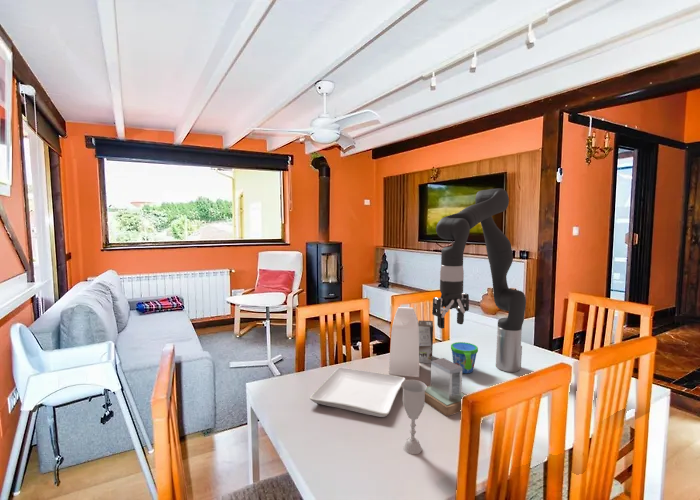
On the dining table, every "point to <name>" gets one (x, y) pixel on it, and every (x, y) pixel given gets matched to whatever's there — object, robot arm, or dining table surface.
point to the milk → (404, 343)
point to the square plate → (359, 391)
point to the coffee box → (425, 341)
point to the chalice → (413, 410)
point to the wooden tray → (443, 402)
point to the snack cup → (464, 355)
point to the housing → (446, 378)
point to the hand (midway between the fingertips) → (450, 325)
